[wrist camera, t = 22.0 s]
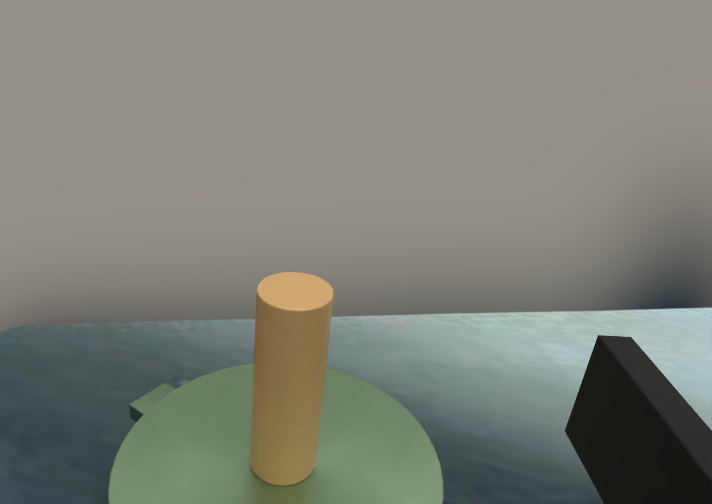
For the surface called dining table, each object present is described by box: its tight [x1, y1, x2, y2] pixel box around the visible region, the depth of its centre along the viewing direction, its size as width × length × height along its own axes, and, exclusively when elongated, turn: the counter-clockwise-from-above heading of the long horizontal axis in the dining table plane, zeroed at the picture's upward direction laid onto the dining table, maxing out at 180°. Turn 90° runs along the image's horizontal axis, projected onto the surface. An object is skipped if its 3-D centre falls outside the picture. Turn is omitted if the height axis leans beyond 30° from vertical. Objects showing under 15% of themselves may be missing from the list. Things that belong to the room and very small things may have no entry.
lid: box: [108, 272, 444, 504], centre depth 25 cm, size 15×15×10 cm
